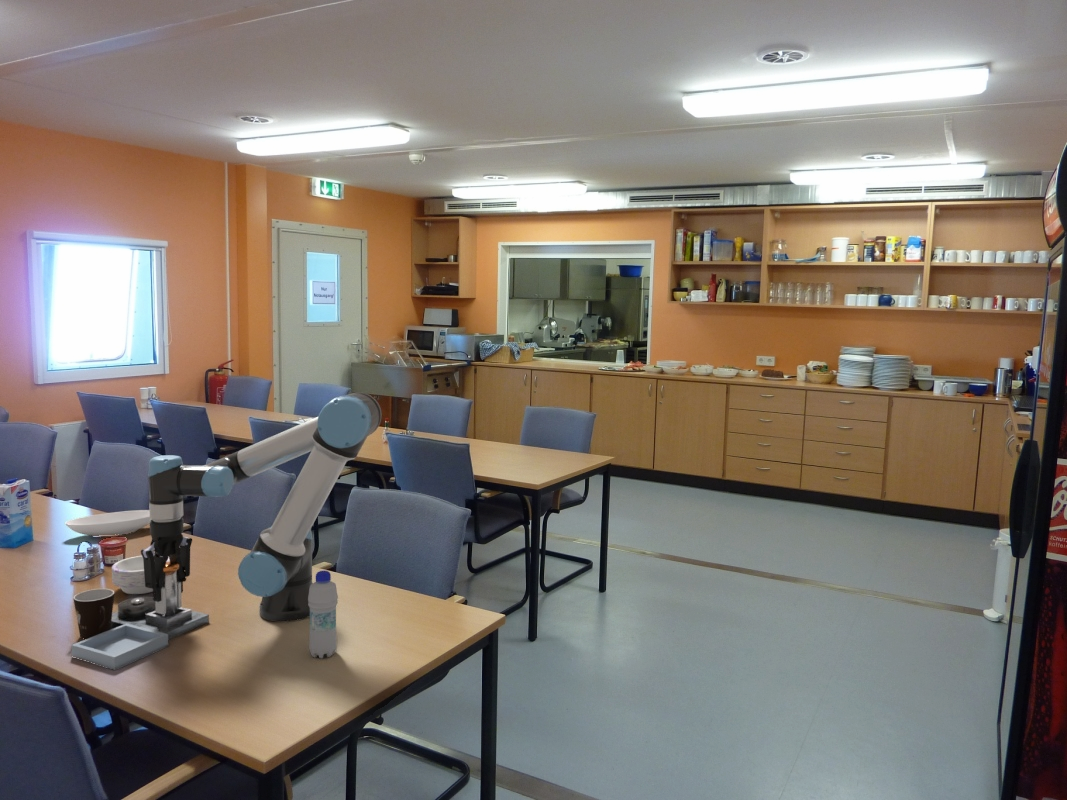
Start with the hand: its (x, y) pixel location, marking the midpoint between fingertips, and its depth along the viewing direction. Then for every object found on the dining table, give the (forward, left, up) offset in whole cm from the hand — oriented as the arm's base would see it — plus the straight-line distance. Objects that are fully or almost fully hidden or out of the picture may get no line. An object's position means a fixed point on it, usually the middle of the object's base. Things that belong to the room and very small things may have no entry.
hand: (168, 609), depth 190 cm
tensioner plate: (+5, 0, -5) cm, 7 cm away
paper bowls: (+29, -16, -5) cm, 33 cm away
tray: (-2, +15, -5) cm, 16 cm away
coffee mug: (+11, +12, -5) cm, 17 cm away
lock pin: (0, 0, -3) cm, 3 cm away
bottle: (-44, -5, -5) cm, 45 cm away
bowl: (+85, -50, -5) cm, 99 cm away
